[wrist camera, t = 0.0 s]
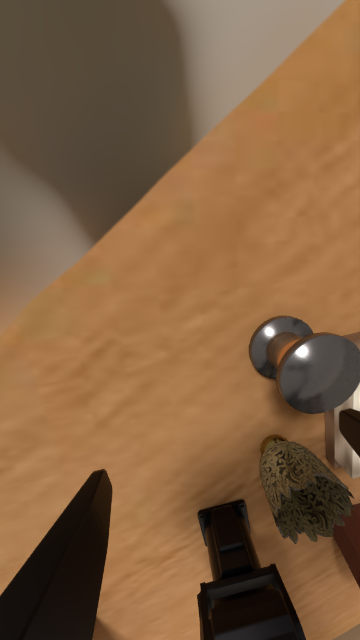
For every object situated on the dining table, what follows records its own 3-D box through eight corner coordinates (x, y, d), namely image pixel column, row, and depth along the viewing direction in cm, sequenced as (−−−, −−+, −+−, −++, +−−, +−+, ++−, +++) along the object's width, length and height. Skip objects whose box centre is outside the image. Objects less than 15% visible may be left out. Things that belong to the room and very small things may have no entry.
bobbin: (311, 367, 25) (362, 402, 18) (252, 381, 24) (284, 422, 18) (308, 309, 23) (365, 326, 17) (245, 323, 23) (278, 346, 16)
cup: (307, 420, 27) (368, 485, 19) (291, 468, 28) (340, 544, 21) (251, 417, 26) (290, 482, 18) (238, 466, 28) (268, 544, 20)
